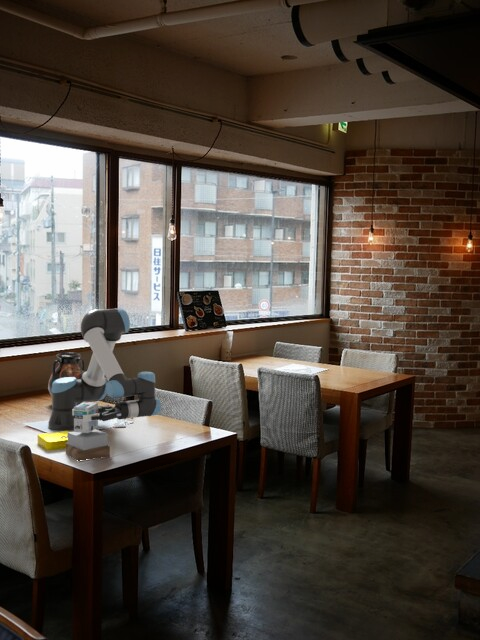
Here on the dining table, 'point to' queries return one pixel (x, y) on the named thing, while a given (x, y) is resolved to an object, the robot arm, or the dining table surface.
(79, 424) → the light bulb box
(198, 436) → the dining table surface
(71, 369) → the amphora vase
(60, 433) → the element tile
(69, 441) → the tower top
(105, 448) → the tower base
